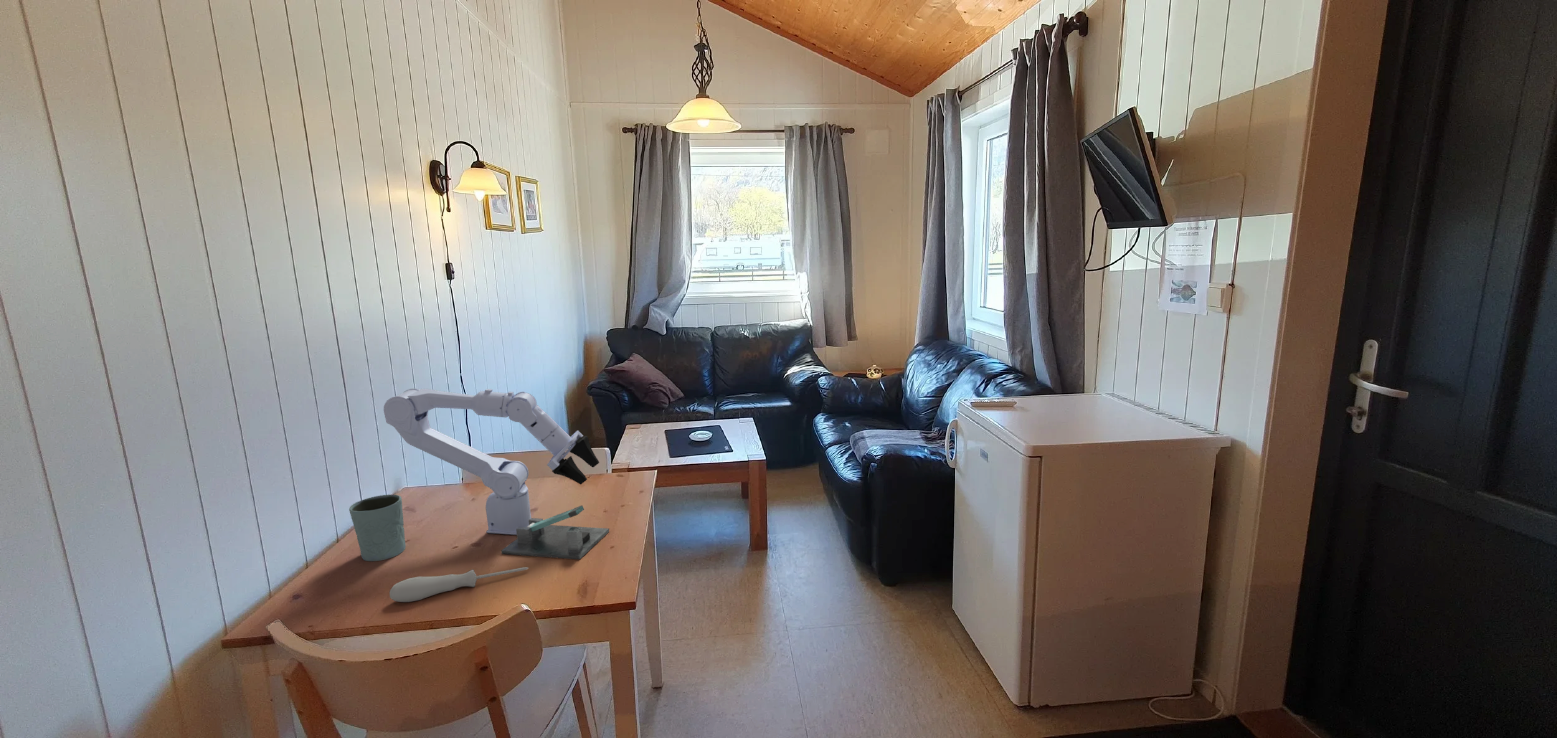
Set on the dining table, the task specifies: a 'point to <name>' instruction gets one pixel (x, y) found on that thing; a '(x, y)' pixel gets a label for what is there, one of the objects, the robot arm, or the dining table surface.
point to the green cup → (379, 526)
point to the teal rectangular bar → (556, 518)
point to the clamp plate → (555, 541)
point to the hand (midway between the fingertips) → (590, 473)
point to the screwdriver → (436, 585)
